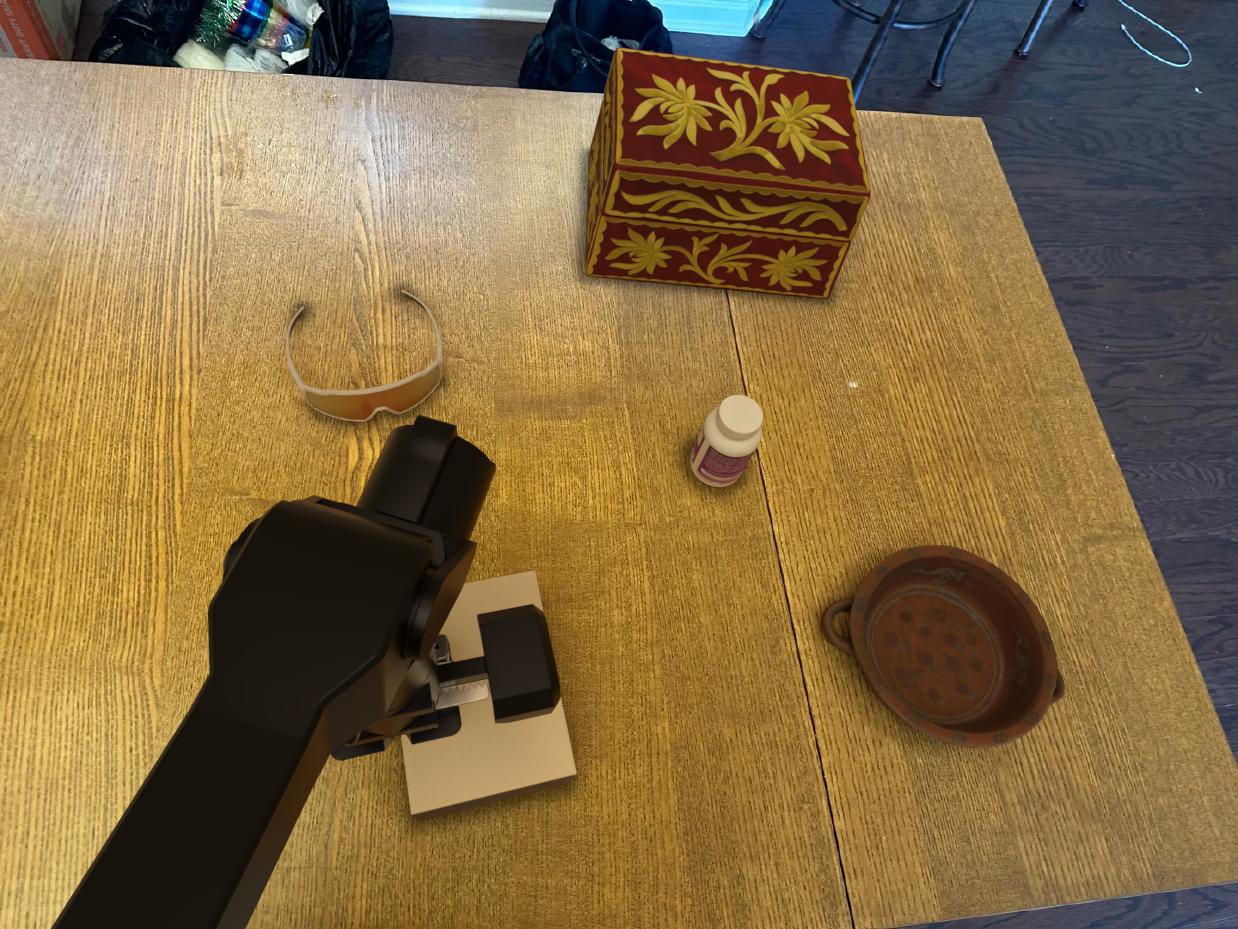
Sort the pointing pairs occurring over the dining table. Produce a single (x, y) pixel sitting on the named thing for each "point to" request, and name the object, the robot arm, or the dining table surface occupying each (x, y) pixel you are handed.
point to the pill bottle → (727, 441)
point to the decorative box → (723, 175)
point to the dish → (951, 646)
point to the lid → (486, 720)
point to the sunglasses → (374, 399)
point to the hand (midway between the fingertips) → (402, 718)
